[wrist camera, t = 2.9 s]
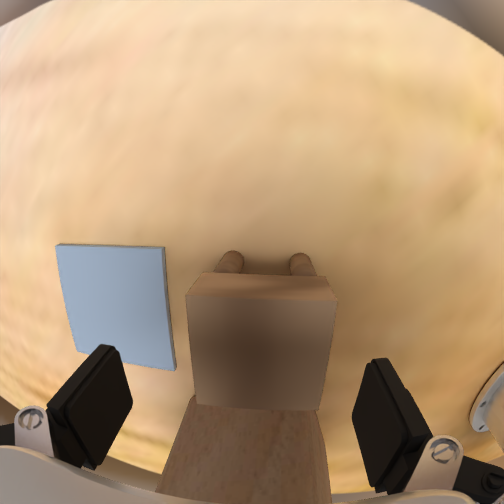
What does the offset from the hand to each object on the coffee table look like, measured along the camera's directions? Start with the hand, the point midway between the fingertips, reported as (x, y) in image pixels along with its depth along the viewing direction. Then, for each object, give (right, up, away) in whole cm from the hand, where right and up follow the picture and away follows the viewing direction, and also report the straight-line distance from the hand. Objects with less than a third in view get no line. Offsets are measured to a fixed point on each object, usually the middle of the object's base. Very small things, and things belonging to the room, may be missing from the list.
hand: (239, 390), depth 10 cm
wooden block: (+1, -11, +13) cm, 17 cm away
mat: (-11, +1, +11) cm, 16 cm away
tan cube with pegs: (+1, +2, +10) cm, 10 cm away
